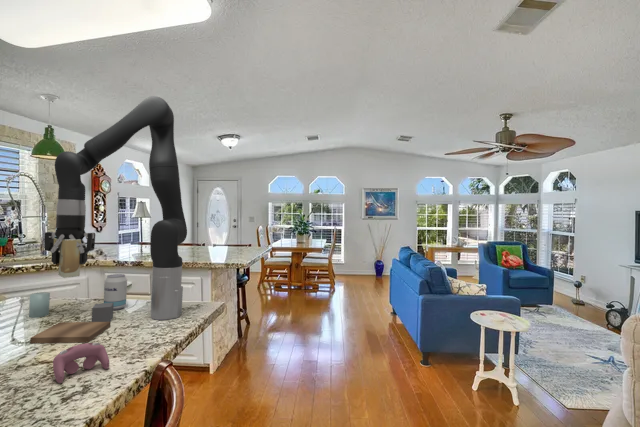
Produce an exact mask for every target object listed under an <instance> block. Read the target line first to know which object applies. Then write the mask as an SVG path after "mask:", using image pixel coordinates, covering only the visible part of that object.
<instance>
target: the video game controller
mask: <svg viewBox="0 0 640 427" xmlns="http://www.w3.org/2000/svg"><path fill="white" fill-rule="evenodd" d="M83 358H85V359H84V361H83V363H82V366H83V369H84V370H91V369H93V368H94V367H95V365H96V363H97V361H98V362H99V364H100V365H101V366H102V367H103V369H105V370H108V369H109V367H110V358H109V354H108V352H107V349H106V348H105V346H104V345H103V344H101V343H100V342H84V343H81V344H77V345H73V346H70V347H68V348H67V349H64V350H61V351H60V352H59V353H58V354H57V355H56V356H54V357H53V360H52V365H53V366H52V368H53V374H54V378H55V380H56V382H57V383H58V384H62V383H63V382H64V379H65V374H67V375H73V374H75V373H76V372H77V371H78V370H79V369H80V365H79V363H78V362H76V361H77V360H79V359H83Z"/></svg>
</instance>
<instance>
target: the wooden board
mask: <svg viewBox="0 0 640 427" xmlns="http://www.w3.org/2000/svg"><path fill="white" fill-rule="evenodd" d="M111 322H112V321H111ZM111 322H91V321H70V322H69V321H65V322H62V321H61V322H58V323H56V324H53V325H52V326H50V327H48V328H46V329H44V330H42V331H41V332H39V333H37V334H34V335H33V336H31V337H30V340H29V341H30V342H29V343H30V344H66V343H67V344H69V343H71V344H72V343H77V344H78V343H91V342H92V341H93V340H94V339H95V338H97V337H98V336H100V335H101V334H102V333H104V332H105V331H107V330H108V329H109V328H111Z"/></svg>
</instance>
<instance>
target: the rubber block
mask: <svg viewBox="0 0 640 427" xmlns="http://www.w3.org/2000/svg"><path fill="white" fill-rule="evenodd" d="M113 305H114V303H104V302H103V303H95V304H94V305H93V306H92V308H91V321H90V322H112V320H113V318H114V310H113Z"/></svg>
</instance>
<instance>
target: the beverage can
mask: <svg viewBox="0 0 640 427" xmlns="http://www.w3.org/2000/svg"><path fill="white" fill-rule="evenodd" d="M127 289H128V279H127V277H126V274H123V273H115V274H114V273H113V274H108V275H107V276H106V278H105V280H104V290H103V303H114V305H113V311H119V309H120V310H122V309H123V308H124V307H126V306H127V294H128V290H127Z"/></svg>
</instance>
